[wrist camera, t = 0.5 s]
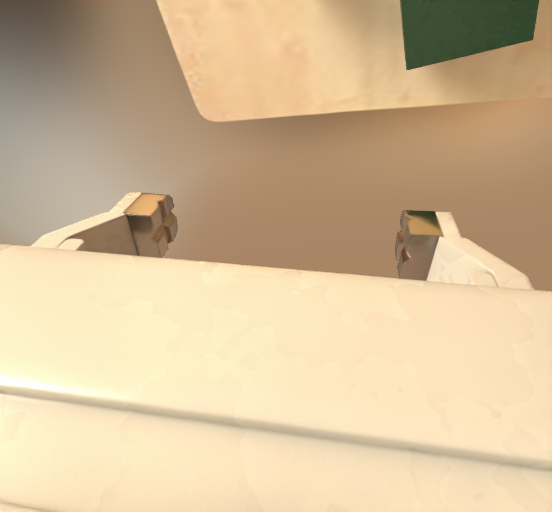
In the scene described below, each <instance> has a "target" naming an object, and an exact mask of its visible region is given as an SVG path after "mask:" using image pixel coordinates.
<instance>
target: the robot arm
mask: <svg viewBox="0 0 552 512" xmlns="http://www.w3.org/2000/svg"><path fill="white" fill-rule="evenodd" d="M173 207H174V203H173V199H172V197H171V196H170V195H163V194H151V193H142V192H140V193H139V192H129V193H127V195H125V196H124V197H123V198H122V199H121V201H120V202H119V203H118V204H117V205H116V206H115V207H114V208H113V209H112V210H111V211H110V212H109V213H105V212H104V213H102V214H99V215H96V216H94V217H91V218H88V219H86V220H83V221H80V222H78V223H75V224H72V225H69V226H67V227H64V228H61V229H59V230H56V231H53V232H51V233H48V234H45V235H43V236H42V237H41V238H40V239H38V240H37V241H36V242H35V243H34V244H33V245H32V246H30V247H29V246H17V245H6V244H0V512H552V292H550V291H538V290H534V288H533V287H532V285H531V283H530V281H529V280H528V278H527V276H526V275H525V274H523V273H522V272H520V271H519V270H517V269H515V268H514V267H512V266H510V265H509V264H507V263H506V262H503V261H502V260H501V259H499V258H497V257H496V256H494V255H493V254H491V253H489V252H487V251H486V250H484V249H483V248H481V247H480V246H478V245H476V244H475V243H473V242H471V241H470V240H468V239H466V238H462V237H461V235H460V232H459V230H458V228H457V226H456V223H455V221H454V218H453V216H452V213H450V212H433V211H410V210H409V211H408V210H404V211H403V212H402V215H401V219H400V225H401V230H400V231H399V232H398V233H397V238H396V246H395V255H396V260H398V261H399V262H398V266H397V268H398V275H399V278H387V277H376V276H364V275H353V274H341V273H329V272H318V271H306V270H294V269H282V268H271V267H260V266H248V265H237V264H225V263H214V262H202V261H191V260H180V259H179V260H178V259H167V258H162V257H163V256H164V254H165V253H166V251H167V250H168V243H170V242H172V241H173V240H174V238H175V237H176V233H177V218H176V216H175V215H174V214H173V213H172V212H171V211H172V209H173Z"/></svg>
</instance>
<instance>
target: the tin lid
mask: <svg viewBox="0 0 552 512" xmlns="http://www.w3.org/2000/svg"><path fill="white" fill-rule="evenodd" d="M400 2H401V13H402V25H403V36H404V48H405V60H406V70H410V69H414V68H418V67H423V66H427V65H431V64H435V63H439V62H443V61H447V60H452V59H456V58H460V57H464V56H468V55H472V54H476V53H481V52H485V51H489V50H493V49H497V48H501V47H505V46H510V45H514V44H518V43H522V42H526V41H530V40H533V36H534V30H535V23H536V17H537V10H538V4H539V0H400Z"/></svg>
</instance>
